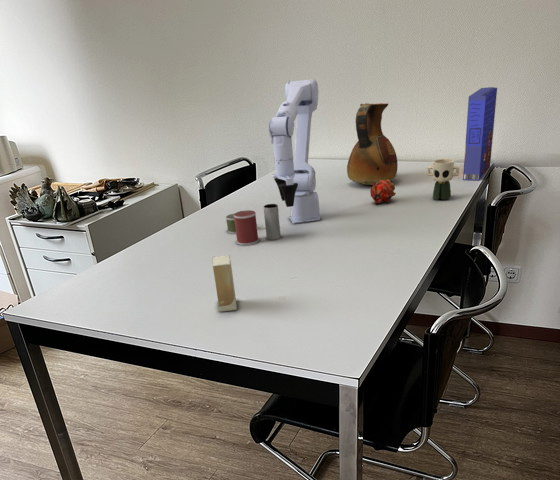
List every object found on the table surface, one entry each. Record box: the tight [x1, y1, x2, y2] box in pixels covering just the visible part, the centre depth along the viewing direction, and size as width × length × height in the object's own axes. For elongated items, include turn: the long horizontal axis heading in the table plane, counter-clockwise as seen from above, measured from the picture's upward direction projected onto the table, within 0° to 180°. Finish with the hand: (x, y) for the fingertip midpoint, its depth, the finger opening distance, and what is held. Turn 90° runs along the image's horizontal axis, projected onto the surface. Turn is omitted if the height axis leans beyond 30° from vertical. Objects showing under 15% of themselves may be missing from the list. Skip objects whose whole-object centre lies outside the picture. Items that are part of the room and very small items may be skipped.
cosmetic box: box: [211, 254, 238, 313], centre depth 145 cm, size 6×4×12 cm
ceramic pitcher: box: [346, 102, 399, 186], centre depth 230 cm, size 20×20×30 cm
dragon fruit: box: [369, 179, 396, 205], centre depth 212 cm, size 8×8×12 cm
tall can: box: [234, 209, 260, 246], centre depth 187 cm, size 7×7×9 cm
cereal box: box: [462, 86, 498, 181], centre depth 229 cm, size 22×6×30 cm, turn 152°
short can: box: [225, 212, 236, 235], centre depth 199 cm, size 7×7×5 cm
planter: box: [263, 203, 282, 241], centre depth 188 cm, size 4×4×10 cm
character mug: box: [426, 158, 460, 200], centre depth 208 cm, size 11×7×13 cm, turn 66°
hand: (287, 203), depth 188 cm, fingers open, 7 cm apart
